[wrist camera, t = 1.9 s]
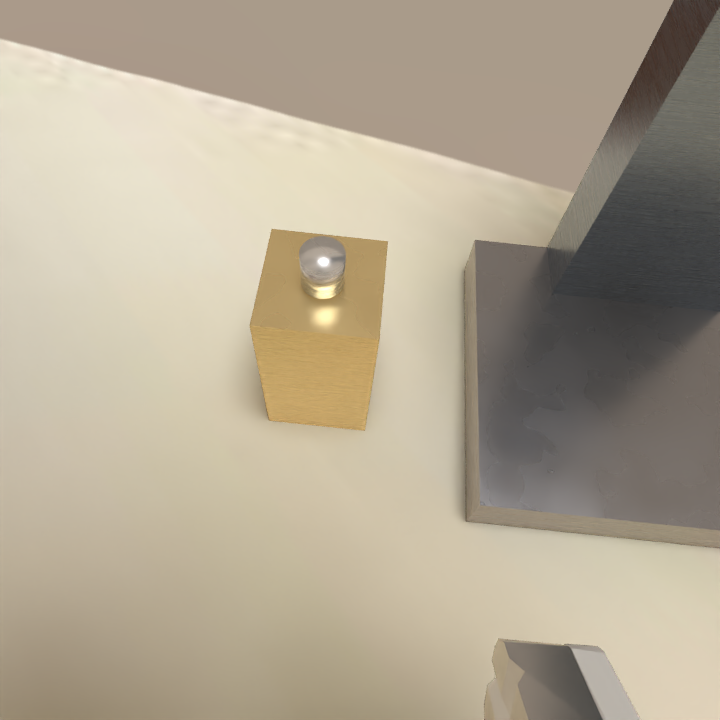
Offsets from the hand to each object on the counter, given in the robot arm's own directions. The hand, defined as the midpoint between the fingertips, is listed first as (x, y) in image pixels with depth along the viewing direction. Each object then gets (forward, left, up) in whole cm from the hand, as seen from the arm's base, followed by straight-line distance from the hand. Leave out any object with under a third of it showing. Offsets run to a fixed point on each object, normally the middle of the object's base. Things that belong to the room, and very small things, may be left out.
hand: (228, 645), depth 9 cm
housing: (0, +12, -15) cm, 19 cm away
